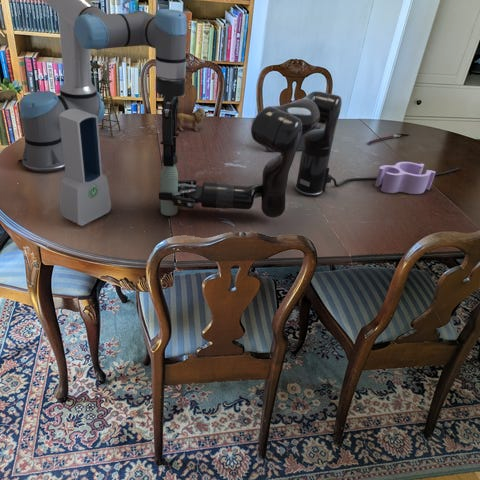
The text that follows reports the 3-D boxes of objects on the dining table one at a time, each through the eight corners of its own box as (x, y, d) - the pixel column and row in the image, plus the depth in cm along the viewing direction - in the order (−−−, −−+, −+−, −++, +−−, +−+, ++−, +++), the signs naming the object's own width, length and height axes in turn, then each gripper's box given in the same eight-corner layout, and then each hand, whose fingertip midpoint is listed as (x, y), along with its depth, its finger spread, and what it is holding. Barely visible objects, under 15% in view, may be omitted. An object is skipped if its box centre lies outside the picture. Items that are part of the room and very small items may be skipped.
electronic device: (79, 228, 128) (67, 121, 112) (60, 218, 131) (46, 113, 115) (112, 211, 137) (105, 110, 121) (94, 202, 140) (85, 103, 124)
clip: (387, 196, 162) (393, 178, 159) (368, 180, 172) (373, 163, 168) (434, 192, 169) (440, 175, 165) (413, 177, 178) (419, 160, 175)
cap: (176, 158, 134) (176, 151, 133) (178, 165, 130) (178, 157, 129) (161, 159, 133) (161, 151, 131) (162, 165, 129) (162, 157, 128)
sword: (406, 132, 223) (406, 130, 222) (411, 134, 221) (412, 132, 220) (362, 144, 207) (363, 141, 206) (368, 146, 205) (368, 143, 204)
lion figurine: (202, 126, 204) (203, 106, 200) (205, 130, 200) (206, 110, 196) (169, 127, 200) (169, 106, 195) (172, 132, 195) (172, 110, 191)
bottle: (167, 217, 137) (167, 161, 128) (157, 210, 140) (157, 155, 130) (180, 212, 140) (182, 157, 131) (170, 205, 143) (171, 151, 134)
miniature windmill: (112, 137, 184) (107, 58, 168) (92, 134, 185) (85, 54, 169) (121, 130, 192) (117, 53, 176) (102, 127, 193) (96, 50, 177)
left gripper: (161, 68, 126) (161, 149, 139) (149, 84, 112) (150, 174, 124) (188, 70, 126) (186, 151, 139) (181, 87, 112) (179, 176, 124)
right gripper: (219, 173, 142) (162, 169, 140) (218, 195, 130) (156, 191, 128) (217, 195, 146) (162, 191, 144) (216, 218, 134) (156, 214, 132)
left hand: (169, 162), depth 132 cm, fingers closed on cap, 4 cm apart
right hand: (160, 191), depth 136 cm, fingers closed on bottle, 5 cm apart
